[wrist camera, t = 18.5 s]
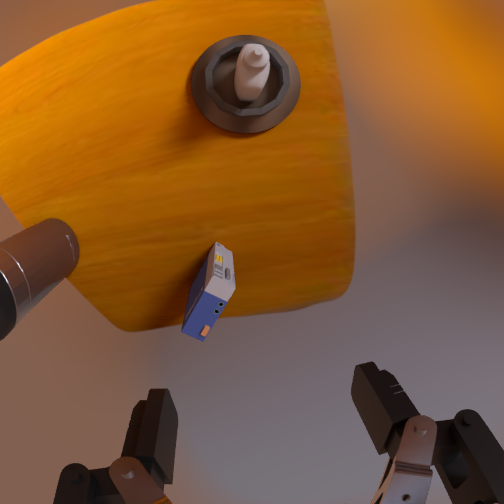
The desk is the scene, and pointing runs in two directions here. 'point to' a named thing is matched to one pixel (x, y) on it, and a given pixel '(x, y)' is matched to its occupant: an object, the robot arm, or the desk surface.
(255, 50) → the eye dropper bottle
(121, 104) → the desk surface
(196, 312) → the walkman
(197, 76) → the bottle collar
